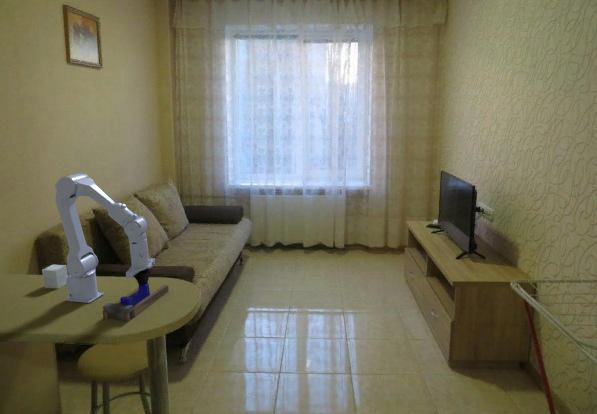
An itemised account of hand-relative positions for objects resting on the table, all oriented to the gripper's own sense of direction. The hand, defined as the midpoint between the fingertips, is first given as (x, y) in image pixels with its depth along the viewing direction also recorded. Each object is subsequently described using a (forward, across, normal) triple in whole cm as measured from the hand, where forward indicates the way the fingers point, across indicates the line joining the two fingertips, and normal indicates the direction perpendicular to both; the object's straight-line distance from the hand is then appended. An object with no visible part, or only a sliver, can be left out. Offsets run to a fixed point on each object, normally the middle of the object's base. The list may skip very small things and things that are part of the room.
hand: (143, 290), depth 161 cm
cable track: (+3, -4, 0) cm, 5 cm away
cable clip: (+4, -7, -1) cm, 8 cm away
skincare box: (+4, +5, +41) cm, 42 cm away
